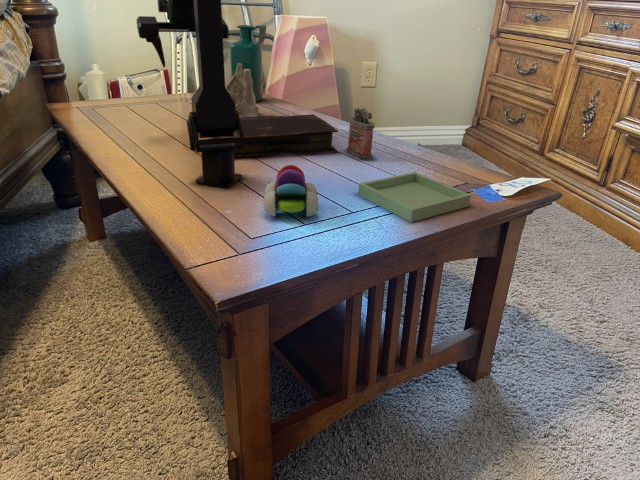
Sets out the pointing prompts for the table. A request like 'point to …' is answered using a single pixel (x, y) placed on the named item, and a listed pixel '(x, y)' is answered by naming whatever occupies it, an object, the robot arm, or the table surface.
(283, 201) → the rainbow wheeled toy
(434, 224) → the table surface
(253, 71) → the pitcher
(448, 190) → the dish
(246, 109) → the ceramic cottage
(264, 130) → the diary
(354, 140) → the lighter
